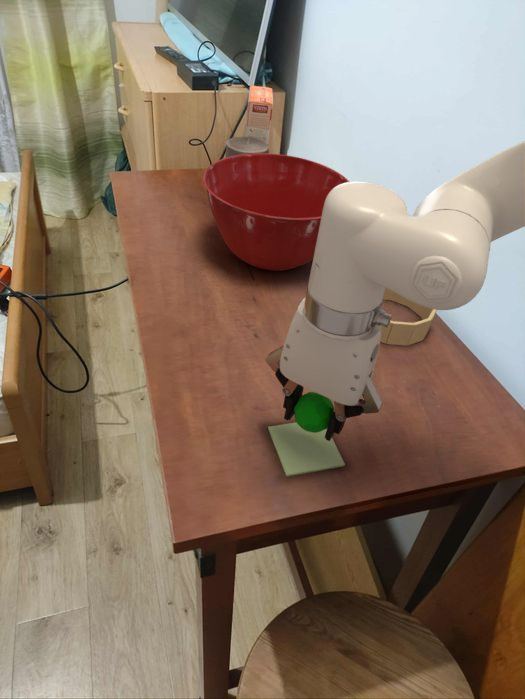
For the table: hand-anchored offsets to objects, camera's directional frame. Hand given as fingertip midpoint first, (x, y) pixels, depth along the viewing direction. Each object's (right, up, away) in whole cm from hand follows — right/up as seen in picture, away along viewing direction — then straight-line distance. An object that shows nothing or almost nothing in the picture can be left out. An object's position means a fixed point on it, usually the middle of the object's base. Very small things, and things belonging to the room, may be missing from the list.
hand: (311, 421), depth 64 cm
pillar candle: (-11, +44, +58) cm, 74 cm away
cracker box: (-9, +53, +68) cm, 87 cm away
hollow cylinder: (+16, +14, +27) cm, 35 cm away
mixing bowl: (-5, +29, +41) cm, 50 cm away
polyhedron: (0, -1, +1) cm, 1 cm away
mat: (-1, -4, +3) cm, 5 cm away
